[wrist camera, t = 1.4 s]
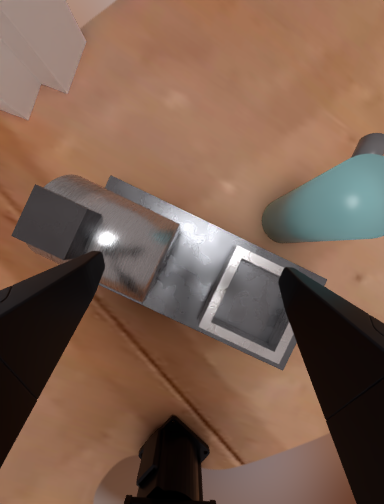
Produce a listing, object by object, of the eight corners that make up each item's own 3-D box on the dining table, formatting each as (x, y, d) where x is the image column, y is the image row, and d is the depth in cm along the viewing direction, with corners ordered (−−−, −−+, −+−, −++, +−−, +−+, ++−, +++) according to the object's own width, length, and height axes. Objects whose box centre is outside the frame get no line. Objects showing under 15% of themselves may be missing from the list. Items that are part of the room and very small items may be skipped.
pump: (294, 250, 23) (387, 252, 12) (254, 231, 23) (312, 216, 12) (322, 192, 23) (440, 143, 12) (282, 173, 23) (365, 105, 12)
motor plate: (318, 277, 24) (435, 304, 12) (276, 362, 24) (355, 465, 12) (115, 180, 23) (45, 115, 12) (74, 268, 23) (-34, 287, 12)
